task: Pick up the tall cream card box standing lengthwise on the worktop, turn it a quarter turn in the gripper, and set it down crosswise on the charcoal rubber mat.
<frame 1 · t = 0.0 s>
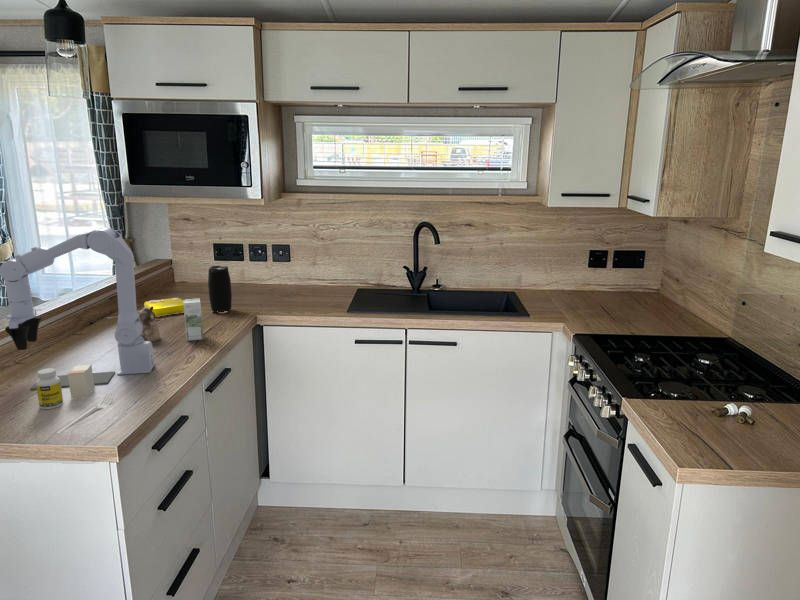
hand: (27, 345, 167), 10 cm above the worktop, tool pointing down, fingers open, 7 cm apart
syrup box: (195, 339, 206), on the worktop
rubber mat: (74, 381, 166), on the worktop
fork: (86, 417, 144), on the worktop
portable speaker: (221, 312, 243), on the worktop
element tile: (166, 313, 243), on the worktop
card box: (83, 393, 158), on the worktop
figurine: (149, 339, 205), on the worktop
supplement bottle: (51, 406, 150), on the worktop
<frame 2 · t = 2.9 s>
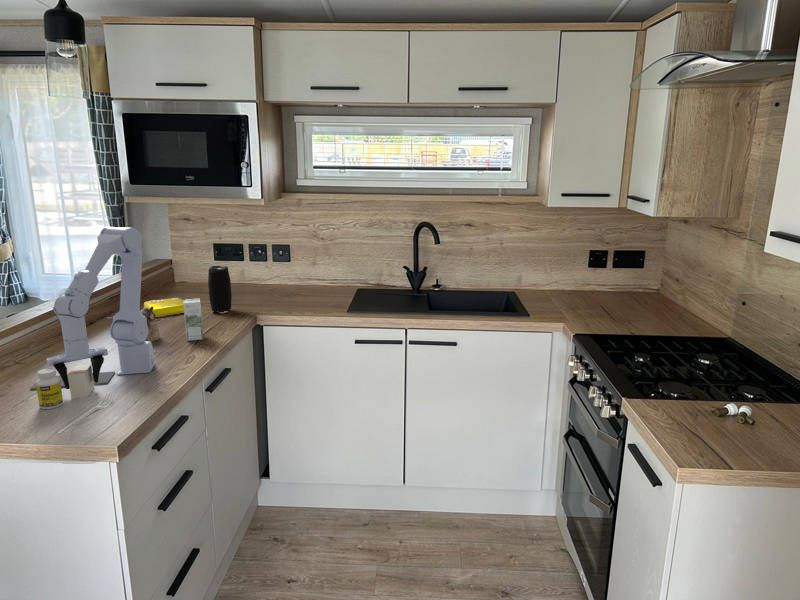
hand: (81, 384, 157), 2 cm above the worktop, tool pointing down, fingers closed on card box, 6 cm apart
card box: (83, 392, 158), on the worktop, touching gripper
everything else where it was.
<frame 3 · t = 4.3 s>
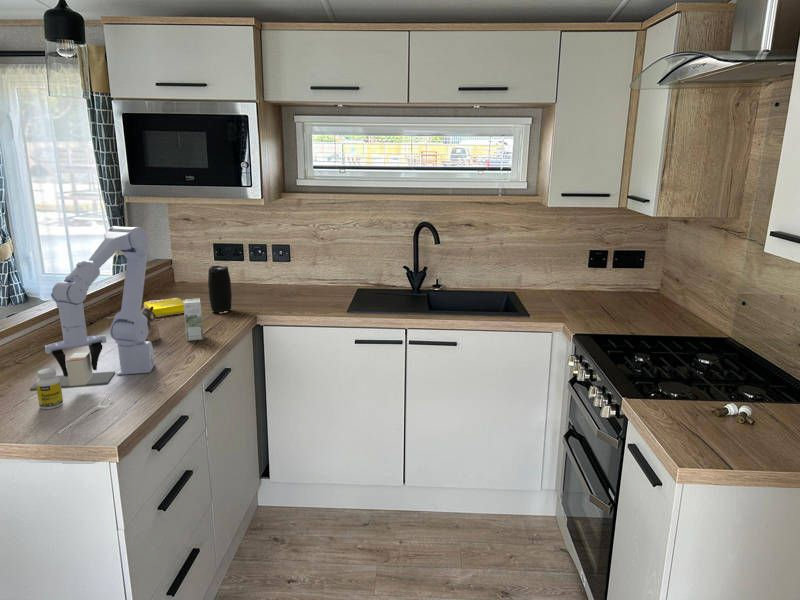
hand: (80, 372, 156), 6 cm above the worktop, tool pointing down, fingers closed on card box, 6 cm apart
card box: (81, 380, 157), point 4 cm above the worktop, touching gripper
everything else where it was.
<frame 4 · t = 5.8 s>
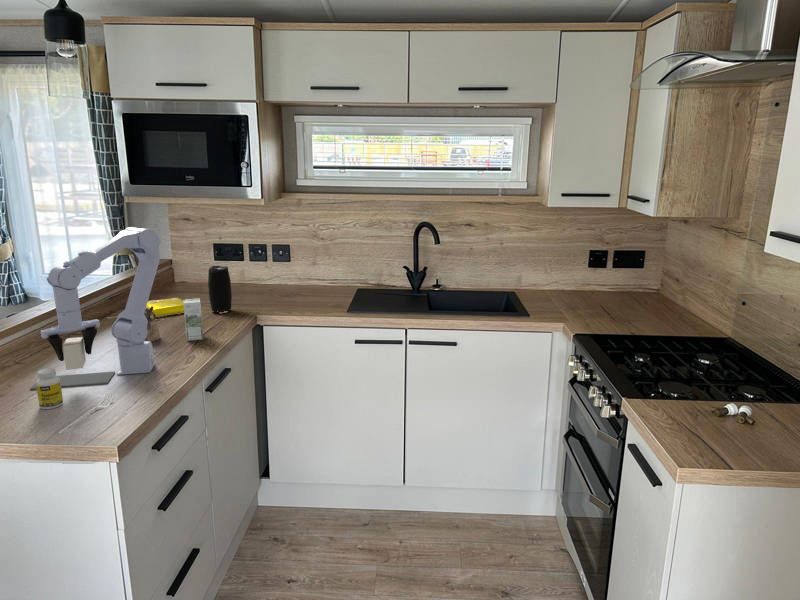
hand: (75, 356, 159), 9 cm above the worktop, tool pointing down, fingers closed on card box, 6 cm apart
card box: (76, 364, 160), point 7 cm above the worktop, touching gripper
everything else where it was.
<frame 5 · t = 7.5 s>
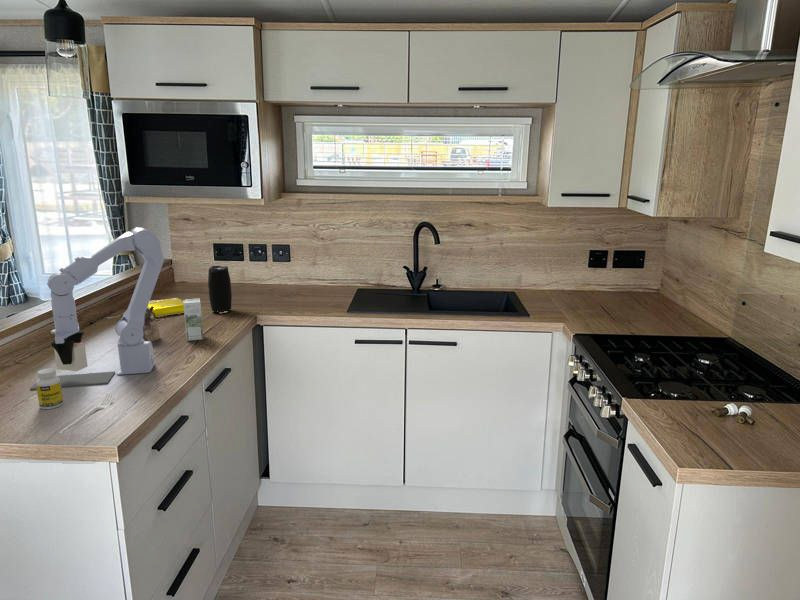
hand: (71, 359, 165), 7 cm above the worktop, tool pointing down, fingers closed on card box, 6 cm apart
card box: (72, 367, 165), point 4 cm above the worktop, touching gripper
everything else where it was.
when the fingers open (4 cm above the worktop, at t = 8.8 s): card box drops 1 cm, resting on rubber mat.
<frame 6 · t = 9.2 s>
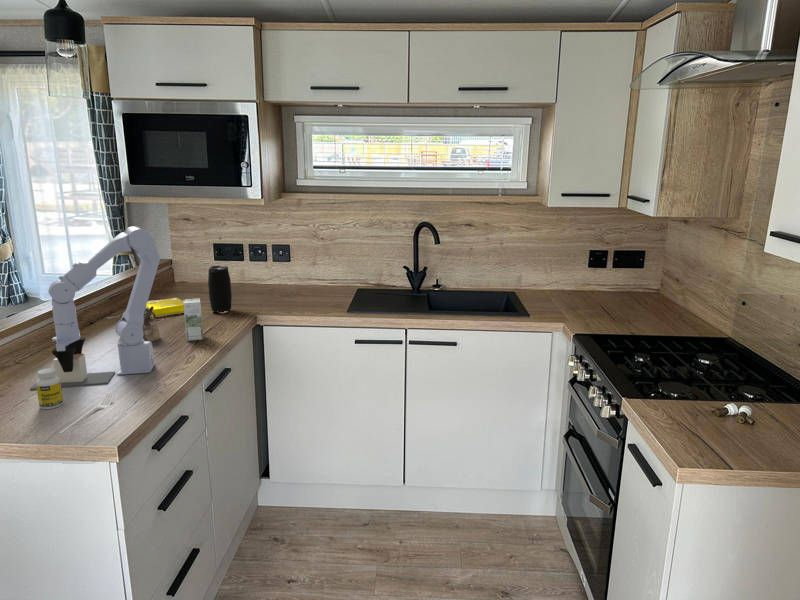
hand: (72, 367, 165), 4 cm above the worktop, tool pointing down, fingers open, 7 cm apart
card box: (72, 379, 166), resting on rubber mat
everything else where it was.
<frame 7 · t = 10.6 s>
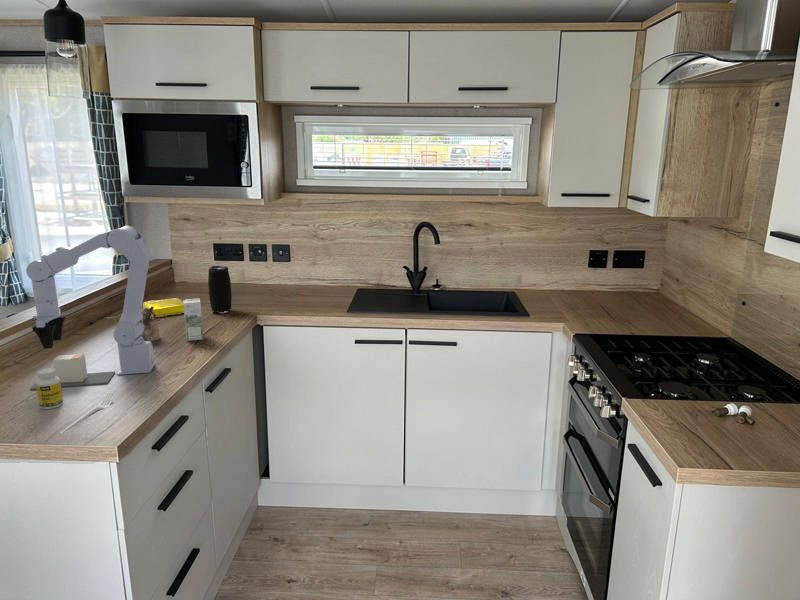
hand: (52, 344, 170), 9 cm above the worktop, tool pointing down, fingers open, 7 cm apart
nothing on the worktop moved.
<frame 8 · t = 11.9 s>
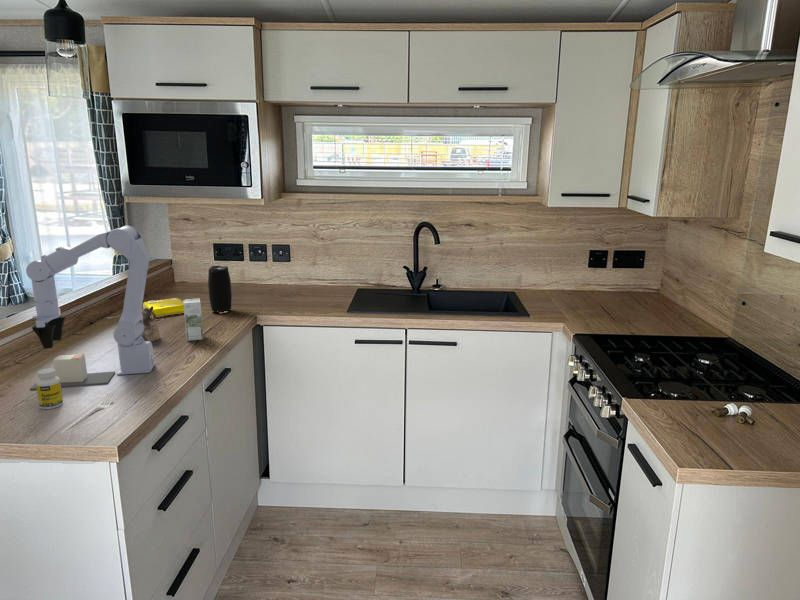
hand: (52, 344, 170), 9 cm above the worktop, tool pointing down, fingers open, 7 cm apart
nothing on the worktop moved.
at the end: card box 0.6 cm off-centre on the rubber mat, point 0.5 cm above the rubber mat's base; card box tilted 0°; the gripper is holding nothing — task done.
